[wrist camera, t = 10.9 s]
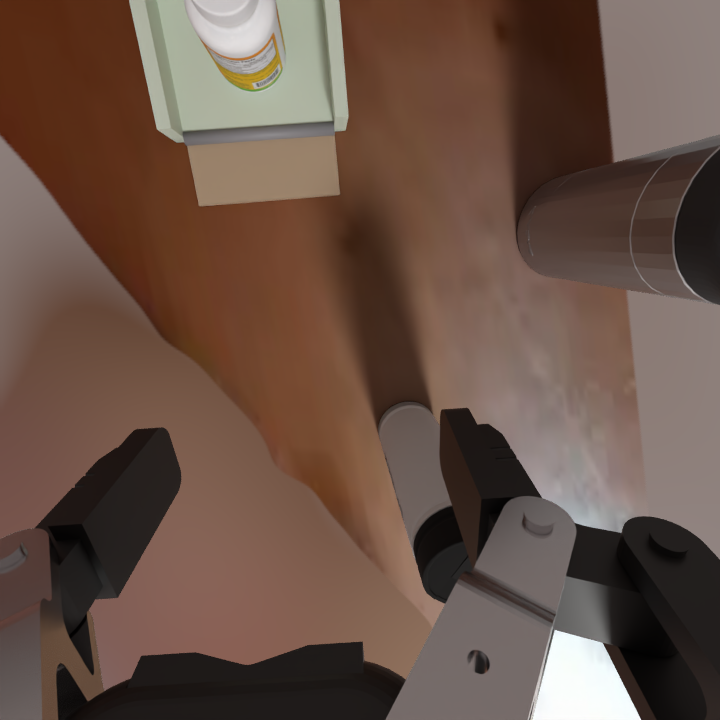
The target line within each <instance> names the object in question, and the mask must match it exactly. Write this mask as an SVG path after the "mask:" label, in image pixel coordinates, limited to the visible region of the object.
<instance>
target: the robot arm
mask: <svg viewBox="0 0 720 720" xmlns="http://www.w3.org/2000/svg"><path fill="white" fill-rule="evenodd" d="M517 238H518V246H519V249H520V253H521V255H522V257H523V258H524V260H525V262H526V263H527V264H528V265H529V266H530V267H531V268H532V269H533V270H535V271H536V272H537V273H539V274H542V275H545V276H548V277H554V278H560V279H566V280H571V281H577V282H583V283H589V284H595V285H601V286H607V287H613V288H619V289H625V290H631V291H638V292H643V293H649V294H656V295H661V296H668V297H674V298H681V299H687V300H694V301H699V302H705V303H712V304H718V305H720V135H716V136H713V137H709V138H705V139H702V140H699V141H695V142H691V143H688V144H683V145H680V146H676V147H672V148H669V149H664V150H661V151H657V152H653V153H649V154H645V155H642V156H638V157H634V158H630V159H626V160H623V161H619V162H615V163H611V164H607V165H603V166H600V167H596V168H592V169H587V170H584V171H580V172H576V173H572V174H569V175H565V176H561V177H558V178H555V179H552V180H550V181H549V182H547V183H545V184H543V185H542V186H541V187H540V188H539V189H537V190H536V191H535V192H534V193H533V195H532V196H531V197H530V198H529V200H528V201H527V203H526V205H525V206H524V208H523V210H522V213H521V216H520V219H519V222H518V230H517ZM439 457H440V467H441V472H442V476H443V479H444V482H445V485H446V488H447V491H448V494H449V498H450V501H451V504H452V507H453V510H454V513H455V516H456V519H457V522H458V525H459V529H460V532H461V535H462V538H463V541H464V544H465V547H466V550H467V553H468V556H469V560H470V563H471V566H472V569H473V570H472V572H471V573H469V572H467V571H464V572H463V573H462V574H461V576H460V577H459V579H458V580H457V582H456V584H455V586H454V588H453V590H452V592H451V594H450V596H449V598H448V600H447V602H446V604H445V605H444V607H443V609H442V611H441V613H440V615H439V617H438V619H437V621H436V623H435V625H434V627H433V629H432V631H431V633H430V635H429V637H428V638H427V641H426V642H425V644H424V647H423V648H422V650H421V652H420V654H419V656H418V658H417V660H416V662H415V664H414V666H413V667H412V669H411V671H410V673H409V675H408V677H407V679H406V680H405V679H404V678H403V677H402V676H400V675H398V674H396V673H395V672H393V671H391V670H390V669H387V668H385V667H382V666H380V665H378V664H375V663H371V662H367V661H364V652H363V642H351V643H336V644H319V645H307V646H305V647H302V648H299V649H296V650H293V651H290V652H287V653H284V654H281V655H278V656H276V657H273V658H270V659H267V660H264V661H261V662H258V663H255V664H251V665H242V664H239V663H235V662H231V661H226V660H223V659H219V658H215V657H211V656H207V655H203V654H200V653H179V654H164V655H148V656H141V658H140V660H139V662H138V665H137V667H136V669H135V671H134V673H133V676H132V678H131V679H129V680H126V681H124V682H121V683H119V684H117V685H115V686H113V687H111V688H109V689H107V690H106V691H104V688H103V683H102V676H101V669H100V663H99V656H98V649H97V643H96V636H95V629H94V622H93V617H92V615H91V613H90V611H89V608H90V607H91V605H92V604H93V602H94V600H95V599H108V598H118V596H119V594H120V593H121V591H122V589H123V588H124V586H125V584H126V582H127V581H128V579H129V577H130V575H131V574H132V572H133V570H134V568H135V566H136V565H137V563H138V561H139V560H140V558H141V556H142V554H143V552H144V550H145V549H146V547H147V545H148V544H149V542H150V540H151V538H152V537H153V535H154V533H155V531H156V529H157V528H158V526H159V524H160V523H161V521H162V519H163V517H164V516H165V514H166V512H167V510H168V509H169V507H170V505H171V503H172V501H173V500H174V498H175V496H176V495H177V493H178V491H179V488H180V484H181V470H180V467H179V464H178V461H177V457H176V454H175V451H174V448H173V445H172V442H171V439H170V436H169V433H168V431H167V430H166V429H165V428H148V429H136V430H134V431H133V432H132V433H131V434H130V435H129V436H128V437H127V438H126V440H125V441H124V442H123V443H122V444H121V445H120V446H119V447H118V448H115V449H114V450H112V451H111V452H109V453H108V454H106V455H105V456H103V457H102V458H101V459H99V460H98V461H97V462H96V463H95V464H94V465H93V466H92V467H91V468H90V469H89V470H88V472H87V473H86V476H83V477H82V478H81V479H80V480H79V481H78V482H77V483H76V484H75V488H72V489H71V490H70V491H69V492H68V493H67V494H66V495H65V496H64V497H63V499H62V500H60V502H59V503H58V504H57V505H56V506H55V507H54V508H53V509H52V510H51V511H50V512H49V513H48V514H47V516H46V517H45V518H44V519H43V520H42V521H41V522H40V523H39V524H38V525H37V526H36V527H35V528H32V529H26V530H22V531H18V532H15V533H13V534H10V535H8V536H6V537H4V538H1V539H0V720H532V719H533V715H534V711H535V707H536V703H537V699H538V695H539V691H540V687H541V683H542V679H543V675H544V671H545V667H546V663H547V659H548V655H549V651H550V647H551V643H552V639H553V635H554V631H555V630H558V631H561V632H565V633H569V634H573V635H576V636H580V637H584V638H587V639H591V640H595V641H599V642H602V643H603V644H604V646H605V648H606V650H607V652H608V654H609V656H610V658H611V660H612V662H613V664H614V666H615V668H616V670H617V672H618V674H619V676H620V678H621V680H622V682H623V684H624V686H625V688H626V690H627V692H628V694H629V696H630V698H631V700H632V702H633V704H634V706H635V708H636V710H637V712H638V714H639V716H640V718H641V720H720V560H719V559H718V557H717V556H716V555H715V554H714V553H713V552H712V551H711V550H710V549H709V548H708V547H707V545H706V544H704V542H703V541H701V540H700V539H699V538H698V537H697V536H695V535H694V534H692V533H691V532H690V531H688V530H686V529H684V528H683V527H681V526H679V525H677V524H674V523H672V522H669V521H667V520H664V519H660V518H655V517H646V516H642V517H635V518H632V519H630V520H628V521H627V522H626V523H625V524H624V526H623V529H622V533H618V532H613V531H607V530H602V529H597V528H591V527H587V526H583V525H579V524H576V523H574V521H573V520H572V518H571V517H570V516H569V514H568V513H567V512H566V511H565V510H563V509H562V508H561V507H559V506H558V505H556V504H554V503H553V502H550V501H548V500H546V499H542V497H541V496H540V494H539V492H538V491H537V489H536V488H535V486H534V484H533V483H532V481H531V479H530V478H529V476H528V475H527V473H526V471H525V470H524V468H523V467H522V465H521V463H520V462H519V460H517V458H516V455H515V454H514V452H513V451H512V449H510V446H509V444H508V443H507V441H506V439H505V438H504V436H503V434H501V433H500V432H499V431H497V430H496V429H495V428H493V427H492V426H490V425H489V424H479V425H477V423H476V421H475V419H474V418H473V416H472V414H471V412H470V410H469V409H468V408H458V409H443V410H441V414H440V448H439Z"/></svg>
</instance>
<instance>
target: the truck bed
mask: <svg viewBox="0 0 720 720" xmlns="http://www.w3.org/2000/svg"><path fill="white" fill-rule="evenodd" d="M129 2H130V7H131V11H132V16H133V20H134V25H135V30H136V34H137V39H138V44H139V48H140V53H141V57H142V62H143V67H144V71H145V76H146V81H147V85H148V90H149V94H150V99H151V104H152V108H153V113H154V118H155V122H156V127H157V130H159V131H160V132H162V133H163V134H165V135H166V136H168V137H169V138H171V139H172V140H174V141H175V142H177V143H178V142H185V145H186V146H187V147H188V152H189V158H190V163H191V168H192V173H193V178H194V183H195V188H196V193H197V198H198V203H199V206H213V205H225V204H237V203H250V202H262V201H274V200H287V199H299V198H311V197H324V196H336V195H340V189H339V178H338V168H337V157H336V146H335V131H345V130H346V126H347V121H348V104H347V92H346V80H345V67H344V55H343V43H342V30H341V18H340V6H339V0H276V4H277V9H278V15H279V20H280V24H281V29H282V34H283V39H284V44H285V51H286V61H285V67H284V70H283V73H282V75H281V77H280V79H279V80H278V82H277V83H276V84H275V85H274V86H273V87H271V88H270V89H268V90H266V91H263V92H259V93H248V92H244V91H242V90H240V89H238V88H236V87H234V86H233V85H232V84H230V83H229V82H228V81H227V80H226V79H225V77H224V76H223V75H222V73H221V72H220V71H219V69H218V67H217V66H216V64H215V62H214V61H213V59H212V58H211V56H210V54H209V53H208V51H207V50H206V48H205V46H204V45H203V43H202V42H201V40H200V38H199V37H198V35H197V33H196V32H195V30H194V28H193V26H192V24H191V23H190V20H189V18H188V16H187V12H186V9H185V5H184V0H129Z"/></svg>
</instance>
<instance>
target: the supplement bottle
mask: <svg viewBox="0 0 720 720" xmlns="http://www.w3.org/2000/svg"><path fill="white" fill-rule="evenodd" d="M184 5H185V9H186V12H187V16H188V18H189V20H190V23H191V24H192V26H193V28H194V30H195V32H196V33H197V35H198V37H199V38H200V40H201V42H202V43H203V45H204V46H205V48H206V50H207V51H208V53H209V54H210V56H211V58H212V59H213V61H214V62H215V64H216V66H217V67H218V69H219V71H220V72H221V73H222V75H223V76H224V77H225V79H226V80H227V81H228V82H229V83H230V84H232V85H233V86H234V87H236V88H238V89H240V90H242V91H244V92H248V93H259V92H263V91H266V90H268V89H270V88H271V87H273V86H274V85H275V84H276V83H277V82H278V80H279V79H280V77H281V75H282V73H283V70H284V67H285V61H286V51H285V44H284V39H283V34H282V29H281V24H280V20H279V15H278V9H277V4H276V0H184Z"/></svg>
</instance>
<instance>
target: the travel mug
mask: <svg viewBox="0 0 720 720" xmlns="http://www.w3.org/2000/svg"><path fill="white" fill-rule="evenodd" d="M378 433H379V438H380V441H381V445H382V448H383V452H384V455H385V459H386V462H387V466H388V469H389V473H390V476H391V479H392V483H393V486H394V490H395V493H396V497H397V500H398V504H399V507H400V511H401V514H402V518H403V521H404V524H405V528H406V531H407V535H408V538H409V542H410V545H411V548H412V552H413V556H414V558H415V560H416V563H417V565H418V570H419V573H420V577H421V580H422V583H423V587H424V589H425V591H426V593H427V594H428V595H430V596H431V597H432V598H433V599H436V600H438V601H440V602H443V603H445V604H446V602H447V600H448V598H449V596H450V594H451V592H452V590H453V588H454V586H455V584H456V582H457V580H458V579H459V577H460V576H461V574H462V573H463V572H464V571H467V572H469V573H471V572H472V570H473V569H472V566H471V563H470V560H469V556H468V553H467V550H466V547H465V544H464V541H463V538H462V535H461V532H460V529H459V525H458V522H457V519H456V516H455V513H454V510H453V507H452V504H451V501H450V498H449V494H448V491H447V488H446V485H445V482H444V479H443V476H442V472H441V467H440V457H439V448H440V425H439V424H438V422H437V421H436V419H435V417H434V416H433V414H432V413H431V411H430V410H429V409H428V408H427V407H425V406H424V405H422V404H420V403H417V402H402V403H398V404H396V405H394V406H392V407H391V408H389V409H388V410H387V411H386V412H385V413H384V415H383V416H382V418H381V420H380V422H379V426H378Z"/></svg>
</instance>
